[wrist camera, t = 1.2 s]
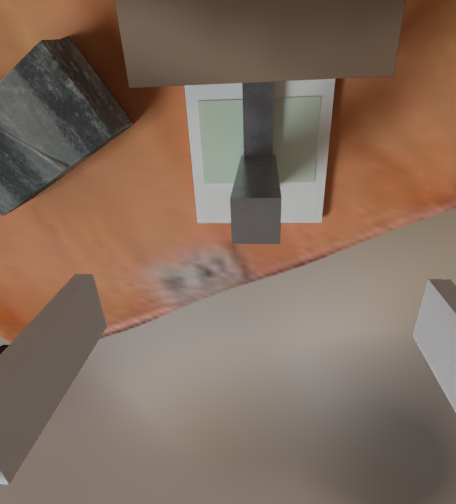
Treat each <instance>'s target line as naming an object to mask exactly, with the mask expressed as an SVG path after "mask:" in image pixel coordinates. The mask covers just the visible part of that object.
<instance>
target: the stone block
mask: <svg viewBox="0 0 456 504" xmlns="http://www.w3.org/2000/svg"><path fill="white" fill-rule="evenodd" d="M132 125H133V123H132V122H131V121H130V119H129V117H128V116H127V114H126V113H125V112H124V110H123V109H122V108H121V106H120V105H119V104H118V102H117V101H116V99H115V98H114V97H113V95H112V94H111V92H110V91H109V90H108V88H107V87H106V86H105V84H104V83H103V81H102V80H101V79H100V77H99V76H98V75H97V73H96V72H95V70H94V69H93V68H92V67H91V65H90V64H89V62H88V61H87V60H86V59H85V57H84V56H83V54H82V53H81V51H80V49H79V47H78V45H77V44H76V43H75V41H74V40H73V39H71V38H70V37H69V36H68V37H65V38H62V39H60V40H42V41H40V42H39V43H38V44H37V45H36V46H35V47H34V48H33V49H32V50H31V51H30V52H29V53H28V54H27V55H26V56H25V57H24V58H23V59H22V60H21V61H20V62H19V63H18V64H17V65H16V66H15V67H14V68H13V69H12V70H11V71H10V72H9V73H8V74H7V75H6V76H5V77H4V78H3V79H2V80H1V81H0V213H1V214H2V215H6V214H7V213H9V212H11V211H13V210H14V209H16V208H18V207H19V206H21V205H23V204H24V203H26V202H28V201H29V200H31V199H32V198H34V197H35V196H36V195H38V194H39V193H41V192H42V191H43V190H45V189H46V188H47V187H49V186H50V185H52V184H53V183H54V182H56V181H57V180H58V179H60V178H61V177H62V176H64V175H65V174H67V173H68V172H69V171H71V170H72V169H73V168H75V167H76V166H77V165H78V164H80V163H81V162H82V161H84V160H85V159H87V158H88V157H89V156H91V155H92V154H94V153H95V152H96V151H98V150H99V149H101V148H102V147H103V146H105V145H106V144H107V143H109V142H110V141H111V140H112V139H114V138H115V137H117V136H118V135H119V134H121V133H122V132H124V131H125V130H126V129H128V128H129V127H131V126H132Z"/></svg>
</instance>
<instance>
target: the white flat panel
mask: <svg viewBox="0 0 456 504" xmlns="http://www.w3.org/2000/svg"><path fill="white" fill-rule="evenodd" d="M334 89H335V79H317V80H295V81H274V100H273V153H272V155H276V161H277V169H278V176H279V183H280V191H281V223H322V213H323V203H324V193H325V182H326V172H327V161H328V151H329V141H330V130H331V120H332V109H333V99H334ZM185 96H186V107H187V117H188V128H189V139H190V149H191V160H192V171H193V181H194V192H195V203H196V213H197V223H231V207H230V197H231V193H232V189H233V185H234V181H235V178H236V174H237V170H238V166H239V162H240V158H241V156H244V139H243V91H242V83H229V84H206V85H185Z"/></svg>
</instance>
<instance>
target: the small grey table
mask: <svg viewBox="0 0 456 504" xmlns="http://www.w3.org/2000/svg"><path fill="white" fill-rule="evenodd" d="M405 3H406V0H115V5H116V11H117V17H118V23H119V29H120V35H121V41H122V47H123V53H124V60H125V66H126V72H127V78H128V84H129V88H140V87H162V86H184V85H206V84H229V83H251V82H273V81H295V80H317V79H339V78H361V77H383V76H393V74H394V68H395V62H396V56H397V50H398V44H399V38H400V32H401V26H402V21H403V15H404V9H405Z"/></svg>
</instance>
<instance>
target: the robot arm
mask: <svg viewBox="0 0 456 504" xmlns="http://www.w3.org/2000/svg"><path fill="white" fill-rule="evenodd" d="M106 327H107V325H106V321H105V318H104V314H103V310H102V306H101V303H100V299H99V295H98V292H97V288H96V284H95V280H94V277H93V274H75V275H74V276H73V277H72V278H71V279H70V280H69V282H68V283H67V284H66V285H65V286H64V287H63V288H62V289H61V290H60V291H59V292H58V293H57V294H56V295H55V297H54V298H53V299H52V300H51V301H50V302H49V303H48V304H47V305H46V306H45V307H44V308H43V309H42V310H41V312H40V313H39V314H38V315H37V316H36V317H35V318H34V319H33V320H32V321H31V322H30V323H29V324H28V325H27V327H26V328H25V329H24V330H23V331H22V332H21V333H20V334H19V335H18V336H17V337H16V338H15V339H14V340H13V342H12V343H11V344H10V345H2V346H0V484H7V485H9V484H10V483H11V481H12V479H13V478H14V476H15V474H16V473H17V471H18V470H19V468H20V466H21V465H22V463H23V462H24V460H25V458H26V457H27V455H28V453H29V452H30V450H31V449H32V447H33V445H34V444H35V442H36V440H37V439H38V437H39V436H40V434H41V432H42V431H43V429H44V427H45V426H46V424H47V423H48V421H49V419H50V418H51V416H52V415H53V413H54V411H55V410H56V408H57V406H58V405H59V403H60V402H61V400H62V398H63V397H64V395H65V394H66V392H67V390H68V389H69V387H70V385H71V384H72V382H73V381H74V379H75V377H76V376H77V374H78V373H79V371H80V369H81V368H82V366H83V364H84V363H85V361H86V360H87V358H88V356H89V355H90V353H91V351H92V350H93V348H94V347H95V345H96V343H97V342H98V340H99V339H100V337H101V335H102V334H103V332H104V330H105V329H106ZM413 337H414V339H415V341H416V343H417V345H418V346H419V348H420V350H421V352H422V354H423V355H424V357H425V359H426V360H427V363H428V364H429V366H430V368H431V369H432V371H433V373H434V375H435V377H436V379H437V380H438V382H439V384H440V386H441V387H442V389H443V391H444V393H445V395H446V396H447V398H448V400H449V401H450V403H451V405H452V407H453V409H454V410H455V412H456V286H455V284H454V283H453V282H452V281H451V280H441V279H439V280H438V279H429V280H428V282H427V286H426V290H425V293H424V297H423V301H422V304H421V308H420V311H419V315H418V319H417V322H416V325H415V329H414V333H413Z"/></svg>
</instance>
